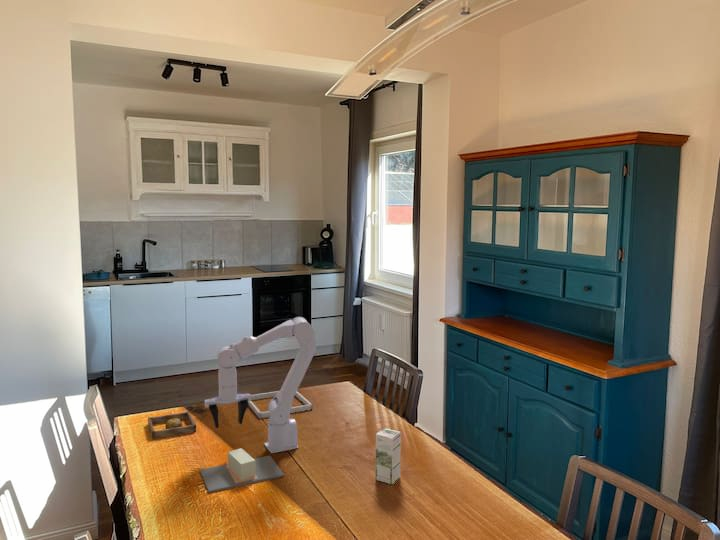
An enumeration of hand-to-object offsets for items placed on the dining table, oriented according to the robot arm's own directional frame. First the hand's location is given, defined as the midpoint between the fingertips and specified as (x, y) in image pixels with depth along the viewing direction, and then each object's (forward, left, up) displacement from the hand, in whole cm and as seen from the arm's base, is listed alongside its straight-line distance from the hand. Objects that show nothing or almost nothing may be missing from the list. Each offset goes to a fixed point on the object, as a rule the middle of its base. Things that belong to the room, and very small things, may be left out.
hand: (228, 424), depth 177 cm
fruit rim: (+14, -29, -9) cm, 34 cm away
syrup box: (-38, +38, -10) cm, 55 cm away
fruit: (+13, -26, -10) cm, 31 cm away
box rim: (-28, -35, -9) cm, 46 cm away
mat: (0, +16, -9) cm, 19 cm away
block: (0, +16, -9) cm, 18 cm away
